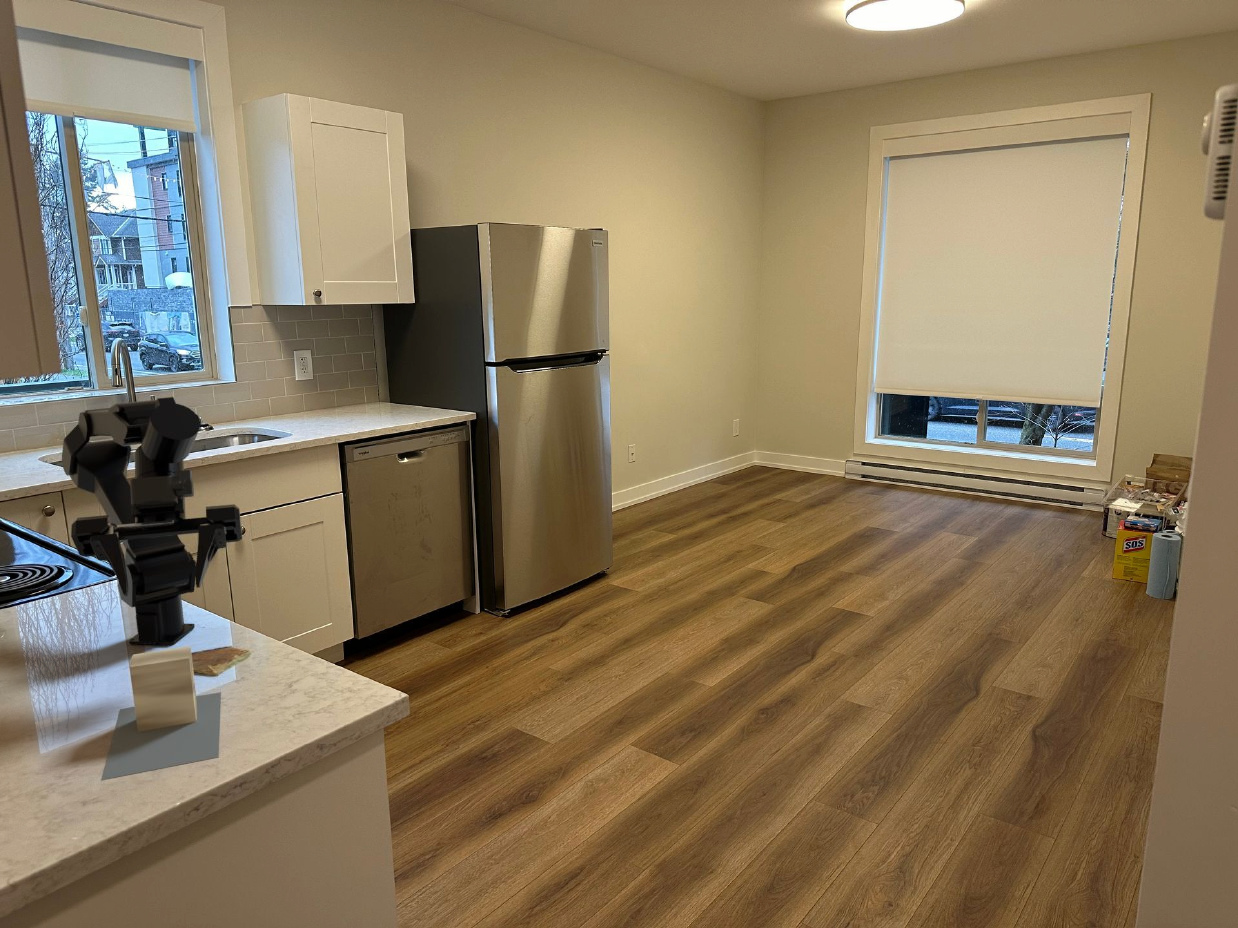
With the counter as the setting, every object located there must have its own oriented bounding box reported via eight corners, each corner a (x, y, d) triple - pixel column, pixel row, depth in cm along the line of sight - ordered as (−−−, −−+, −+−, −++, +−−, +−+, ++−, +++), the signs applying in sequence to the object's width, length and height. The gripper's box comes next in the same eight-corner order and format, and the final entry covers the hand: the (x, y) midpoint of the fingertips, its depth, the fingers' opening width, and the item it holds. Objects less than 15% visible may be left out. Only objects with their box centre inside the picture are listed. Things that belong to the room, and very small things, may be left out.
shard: (150, 671, 115) (149, 659, 114) (194, 648, 122) (192, 636, 121) (217, 683, 112) (215, 670, 111) (257, 658, 119) (256, 646, 118)
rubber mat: (120, 711, 103) (120, 708, 103) (221, 694, 107) (221, 691, 107) (102, 783, 89) (101, 779, 89) (218, 760, 93) (218, 756, 93)
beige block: (140, 717, 101) (132, 654, 99) (197, 707, 103) (190, 646, 102) (137, 731, 98) (129, 667, 96) (196, 721, 100) (189, 658, 98)
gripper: (63, 454, 103) (58, 571, 95) (233, 443, 110) (241, 552, 103) (82, 500, 112) (79, 611, 104) (238, 488, 119) (246, 590, 112)
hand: (162, 590), depth 105 cm, fingers open, 8 cm apart
